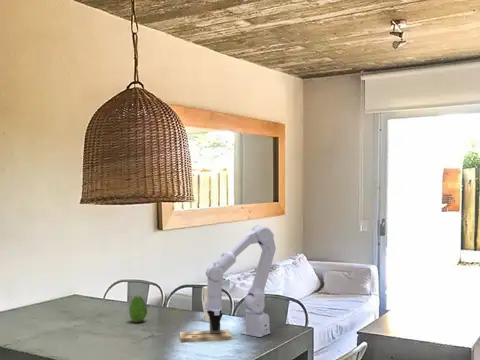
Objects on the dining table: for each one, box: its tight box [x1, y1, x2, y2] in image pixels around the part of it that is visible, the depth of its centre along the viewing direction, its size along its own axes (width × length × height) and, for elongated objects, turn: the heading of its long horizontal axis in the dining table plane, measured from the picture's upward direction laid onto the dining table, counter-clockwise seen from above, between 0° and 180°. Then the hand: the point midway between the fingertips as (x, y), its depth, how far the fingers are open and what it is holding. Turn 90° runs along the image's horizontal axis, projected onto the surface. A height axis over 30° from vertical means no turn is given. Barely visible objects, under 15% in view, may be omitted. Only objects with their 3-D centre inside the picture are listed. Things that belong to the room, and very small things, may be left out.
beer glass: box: [201, 285, 211, 323], centre depth 248 cm, size 7×7×15 cm
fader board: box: [178, 329, 233, 344], centre depth 219 cm, size 20×10×2 cm, turn 100°
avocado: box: [128, 294, 148, 323], centre depth 246 cm, size 8×8×12 cm
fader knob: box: [209, 322, 221, 333], centre depth 219 cm, size 4×2×4 cm, turn 100°
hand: (214, 329), depth 219 cm, fingers closed on fader knob, 2 cm apart
